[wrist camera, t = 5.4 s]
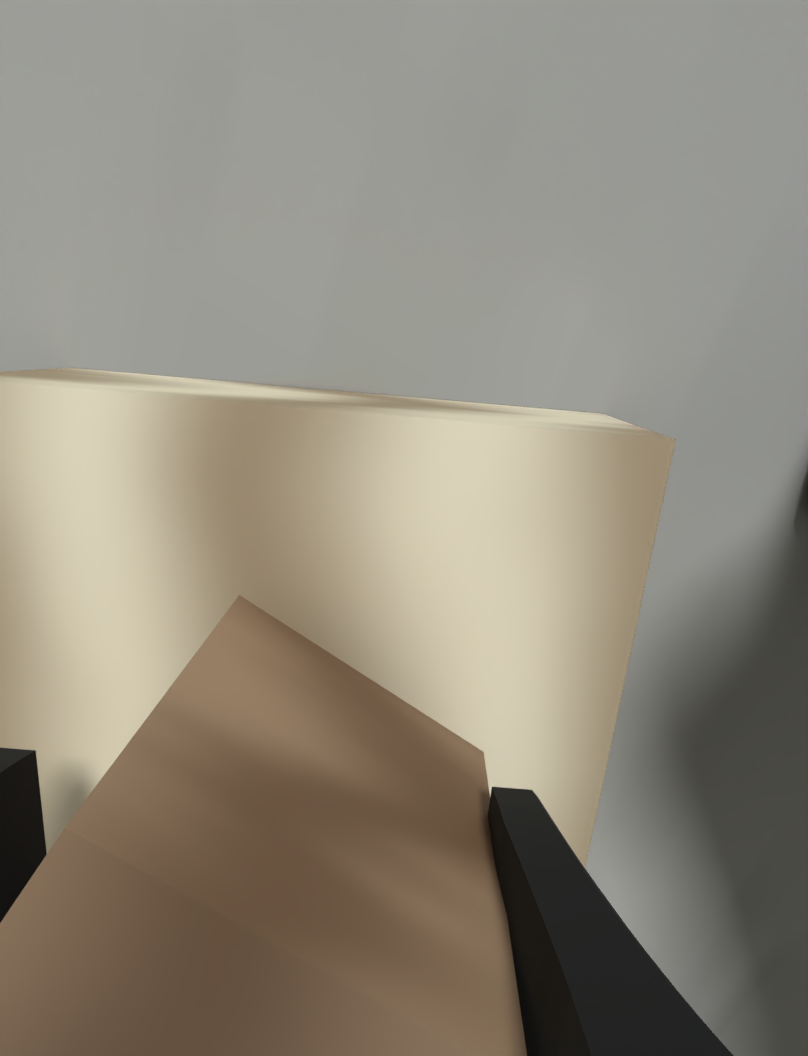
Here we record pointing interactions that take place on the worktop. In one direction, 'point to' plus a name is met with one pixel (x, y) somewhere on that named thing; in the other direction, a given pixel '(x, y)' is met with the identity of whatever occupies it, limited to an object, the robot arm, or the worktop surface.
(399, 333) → the worktop surface
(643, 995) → the robot arm
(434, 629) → the birch pedestal
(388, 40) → the worktop surface
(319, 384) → the worktop surface
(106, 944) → the walnut cube
